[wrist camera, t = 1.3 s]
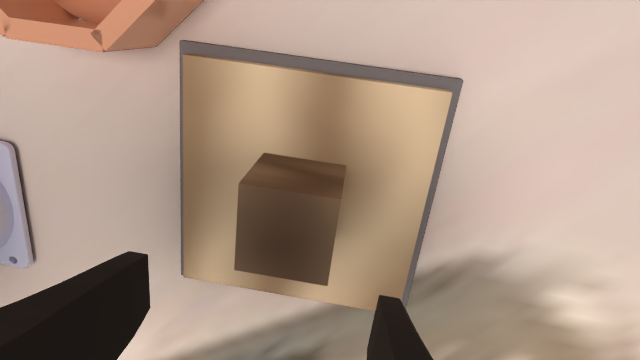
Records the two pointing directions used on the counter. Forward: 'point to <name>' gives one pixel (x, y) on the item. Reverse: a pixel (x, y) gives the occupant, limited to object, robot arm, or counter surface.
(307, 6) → the counter surface
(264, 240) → the lid
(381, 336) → the robot arm
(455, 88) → the mat
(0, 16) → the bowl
